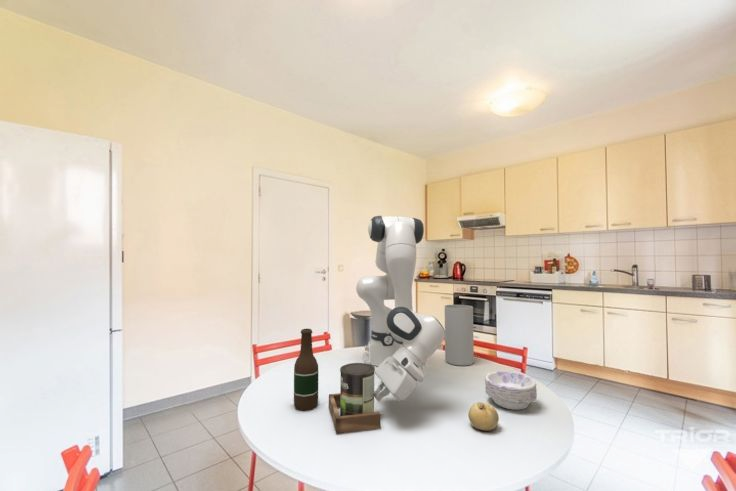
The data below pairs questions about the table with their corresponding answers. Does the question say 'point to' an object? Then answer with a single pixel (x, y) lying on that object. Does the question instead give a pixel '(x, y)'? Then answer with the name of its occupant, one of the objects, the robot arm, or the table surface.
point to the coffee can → (357, 389)
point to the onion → (483, 416)
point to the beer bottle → (306, 375)
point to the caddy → (352, 418)
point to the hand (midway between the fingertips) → (375, 398)
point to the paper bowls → (510, 389)
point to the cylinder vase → (459, 335)
